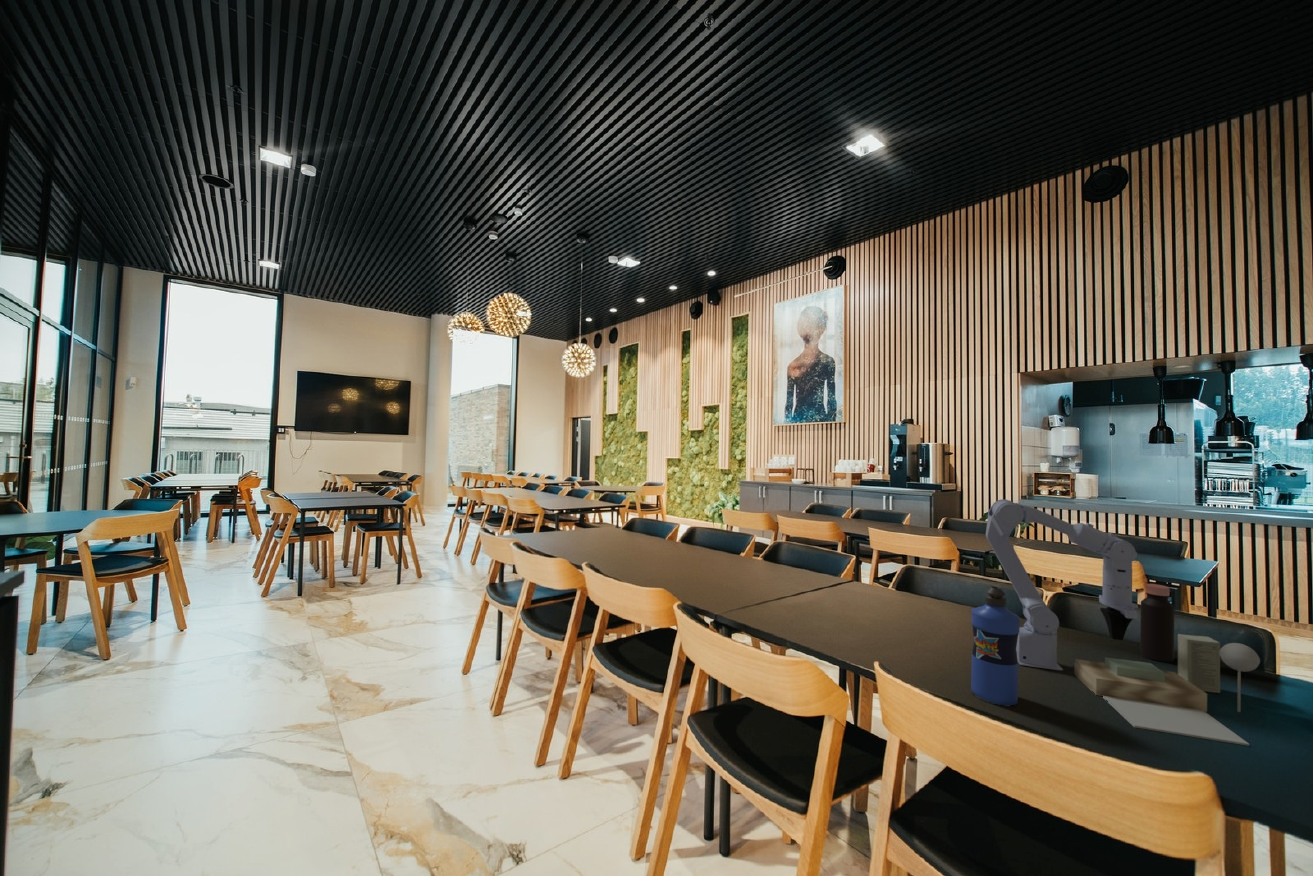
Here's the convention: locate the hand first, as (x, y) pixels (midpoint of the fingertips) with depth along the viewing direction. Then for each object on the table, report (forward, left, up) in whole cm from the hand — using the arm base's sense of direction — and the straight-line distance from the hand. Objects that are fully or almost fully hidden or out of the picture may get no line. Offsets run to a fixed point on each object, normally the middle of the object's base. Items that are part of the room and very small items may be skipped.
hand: (1116, 638), depth 133 cm
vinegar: (+17, +20, -10) cm, 28 cm away
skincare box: (+16, 0, -10) cm, 19 cm away
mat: (0, -23, -9) cm, 25 cm away
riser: (0, -9, -9) cm, 13 cm away
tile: (0, -8, -5) cm, 10 cm away
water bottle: (-33, -25, -10) cm, 43 cm away
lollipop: (+17, -12, -10) cm, 23 cm away
